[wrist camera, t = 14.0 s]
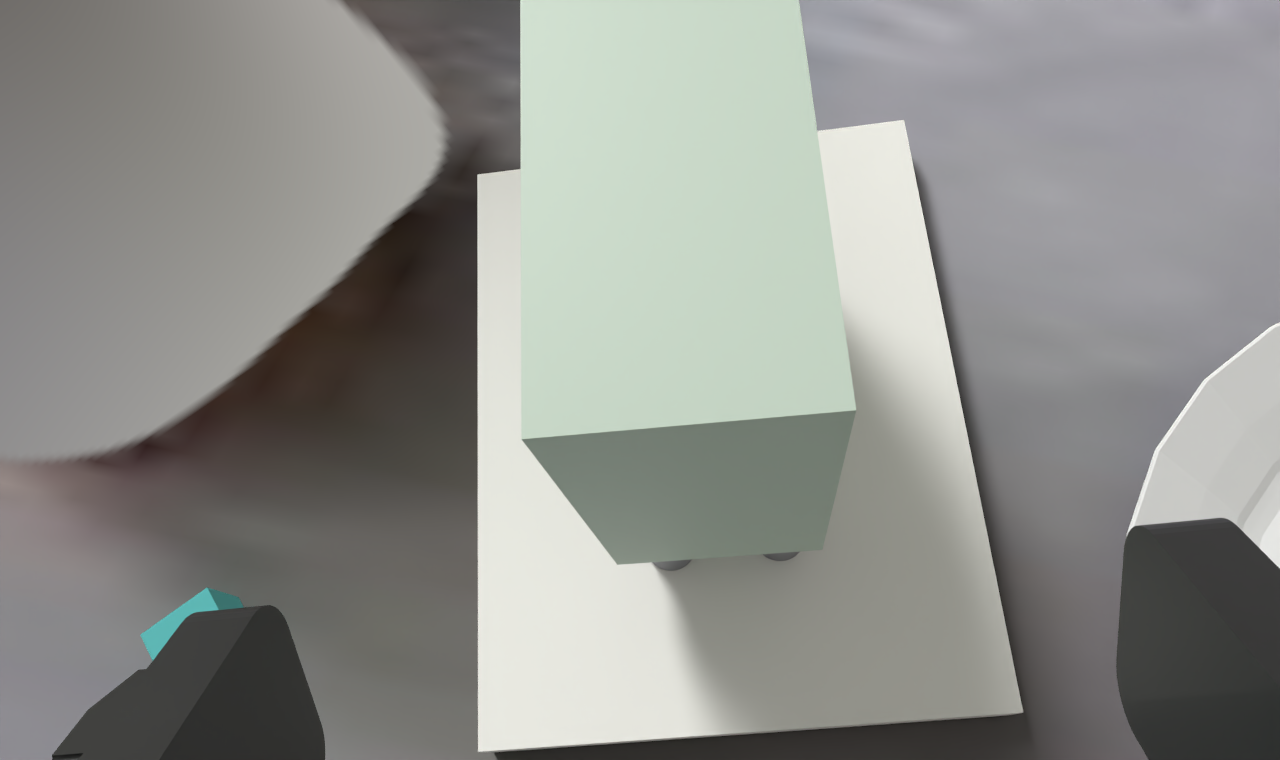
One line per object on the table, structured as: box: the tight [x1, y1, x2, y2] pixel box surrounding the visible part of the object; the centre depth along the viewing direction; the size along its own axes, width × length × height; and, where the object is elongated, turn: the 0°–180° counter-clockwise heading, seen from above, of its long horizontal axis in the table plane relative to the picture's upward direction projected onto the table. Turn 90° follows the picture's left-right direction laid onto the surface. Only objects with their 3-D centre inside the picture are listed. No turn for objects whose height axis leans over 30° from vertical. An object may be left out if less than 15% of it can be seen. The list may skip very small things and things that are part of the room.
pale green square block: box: [520, 0, 856, 565], centre depth 21 cm, size 5×10×10 cm, turn 3°
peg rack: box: [477, 120, 1023, 752], centre depth 28 cm, size 14×18×4 cm
